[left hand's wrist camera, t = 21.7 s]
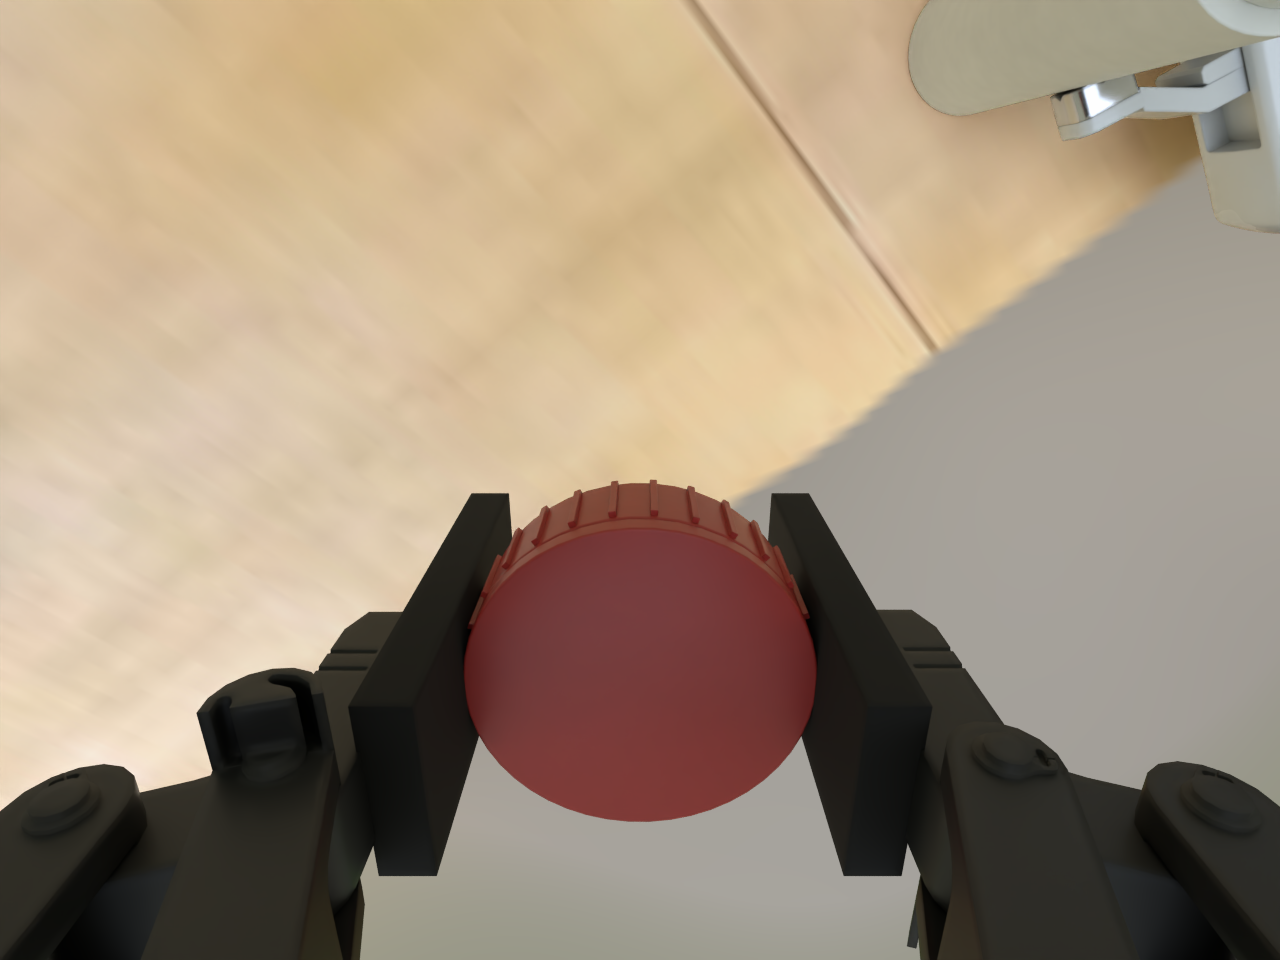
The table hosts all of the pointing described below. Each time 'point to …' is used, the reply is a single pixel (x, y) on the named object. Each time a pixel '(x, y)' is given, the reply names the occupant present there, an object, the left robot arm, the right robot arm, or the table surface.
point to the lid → (640, 654)
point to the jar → (1066, 44)
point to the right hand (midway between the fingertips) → (1036, 21)
